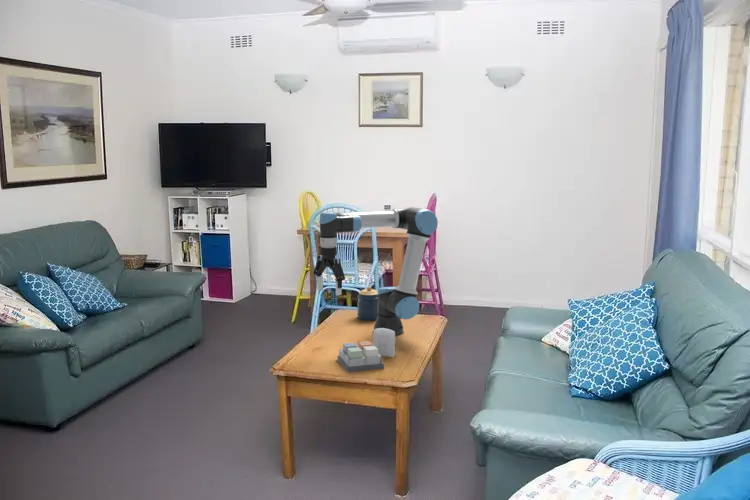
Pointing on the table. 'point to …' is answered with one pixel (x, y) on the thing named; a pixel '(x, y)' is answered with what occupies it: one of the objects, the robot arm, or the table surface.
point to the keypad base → (360, 362)
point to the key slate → (348, 345)
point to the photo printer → (384, 341)
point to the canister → (367, 304)
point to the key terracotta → (364, 344)
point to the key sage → (354, 353)
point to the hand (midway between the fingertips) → (329, 292)
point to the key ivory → (370, 351)
